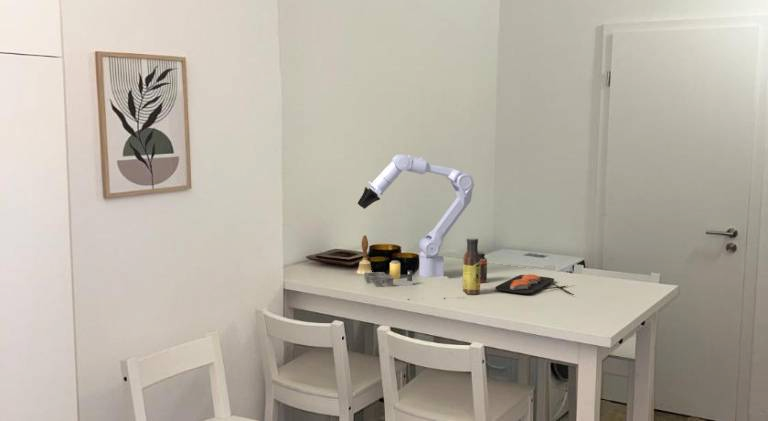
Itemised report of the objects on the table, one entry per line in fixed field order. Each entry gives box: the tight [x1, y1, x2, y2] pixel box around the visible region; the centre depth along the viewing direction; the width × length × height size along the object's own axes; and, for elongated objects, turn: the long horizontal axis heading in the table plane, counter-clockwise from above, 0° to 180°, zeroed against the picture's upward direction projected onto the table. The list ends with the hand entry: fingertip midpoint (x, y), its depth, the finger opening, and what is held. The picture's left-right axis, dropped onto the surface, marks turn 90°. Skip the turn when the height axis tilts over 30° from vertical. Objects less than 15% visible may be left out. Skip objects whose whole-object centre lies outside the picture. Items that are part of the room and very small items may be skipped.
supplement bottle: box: [478, 251, 488, 284], centre depth 289 cm, size 6×6×11 cm
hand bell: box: [355, 235, 374, 275], centre depth 298 cm, size 8×8×16 cm
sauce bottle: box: [462, 237, 481, 296], centre depth 269 cm, size 7×6×20 cm
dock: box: [363, 271, 394, 288], centre depth 282 cm, size 17×17×4 cm
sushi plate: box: [494, 273, 575, 296], centre depth 278 cm, size 29×30×4 cm
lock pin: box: [393, 270, 414, 286], centre depth 277 cm, size 8×2×5 cm, turn 99°
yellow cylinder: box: [389, 260, 401, 280], centre depth 288 cm, size 4×4×7 cm
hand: (360, 206), depth 286 cm, fingers open, 7 cm apart
